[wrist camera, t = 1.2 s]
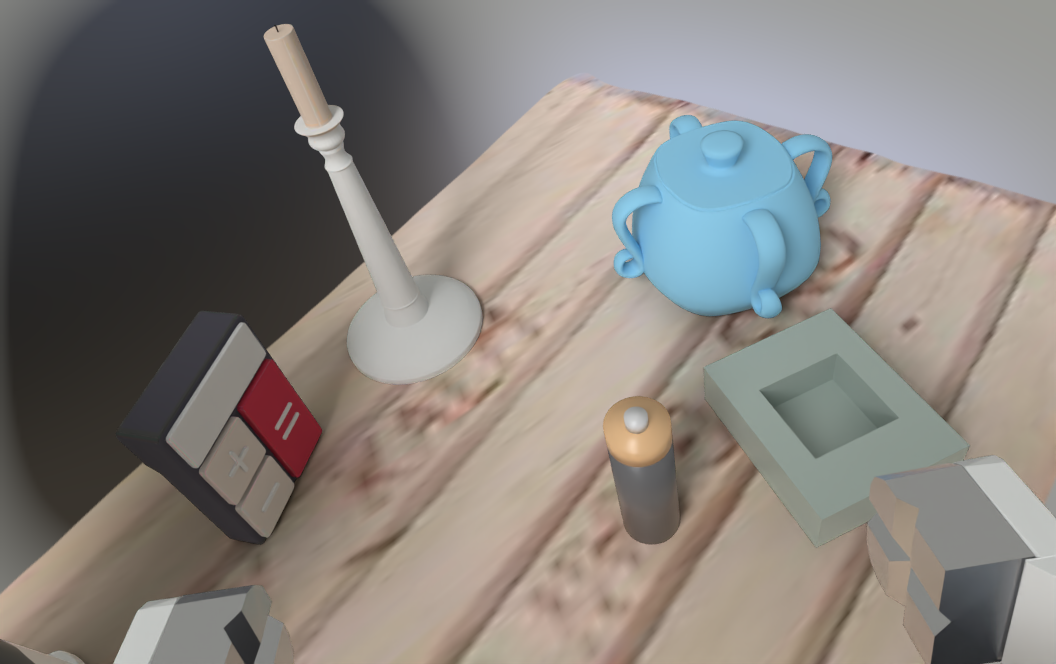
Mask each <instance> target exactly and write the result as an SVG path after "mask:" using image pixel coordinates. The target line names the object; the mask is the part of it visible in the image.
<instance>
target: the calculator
mask: <svg viewBox="0 0 1056 664" xmlns="http://www.w3.org/2000/svg"><path fill="white" fill-rule="evenodd" d="M321 433H322V429H321V427H320V426H319V424H318V422H317V421H316V420H315V418H314V417H313V415H312V414H311V413H310V411H309V410H308V408H307V407H306V405H305V404H304V403H303V401H302V400H301V398H300V397H299V395H298V394H297V393H296V391H295V390H294V388H293V387H292V386H291V384H290V383H289V381H288V380H287V378H286V377H285V376H284V374H283V373H282V371H281V370H280V368H279V367H278V366H277V364H276V363H275V361H274V360H273V359H272V357H271V356H270V354H269V353H268V351H267V350H266V349H265V347H264V346H263V344H262V343H261V342H260V340H259V339H258V337H257V336H256V335H255V333H254V332H253V330H252V329H251V327H250V326H249V324H248V323H247V322H246V320H245V319H244V317H243V316H242V315H240V314H232V313H220V312H208V311H200V312H199V313H198V314H197V315H196V316H195V318H194V319H193V321H192V322H191V324H190V325H189V327H188V328H187V330H186V331H185V333H184V334H183V335H182V337H181V338H180V340H179V341H178V343H177V344H176V345H175V347H174V348H173V350H172V351H171V353H170V354H169V356H168V357H167V359H166V360H165V361H164V363H163V364H162V366H161V367H160V369H159V370H158V371H157V373H156V375H155V376H154V377H153V379H152V380H151V382H150V383H149V384H148V386H147V388H146V389H145V390H144V392H143V393H142V395H141V396H140V398H139V399H138V400H137V402H136V403H135V405H134V406H133V408H132V409H131V411H130V412H129V414H128V415H127V416H126V418H125V419H124V421H123V422H122V424H121V425H120V427H119V428H118V430H117V432H116V437H117V438H118V440H119V441H121V443H123V444H124V445H125V446H126V447H127V448H128V449H129V450H130V451H131V452H132V453H134V455H136V456H137V457H138V458H139V459H140V460H141V461H142V462H143V463H144V464H145V465H147V466H148V467H150V468H152V469H154V470H155V471H157V472H159V473H160V474H162V475H163V476H164V477H165V478H166V479H167V480H168V481H169V482H170V483H171V484H172V485H173V486H175V487H176V488H177V489H178V490H179V491H180V492H181V493H182V494H183V495H184V496H185V497H186V498H187V499H188V500H189V501H191V502H192V503H193V504H194V505H195V506H196V507H197V508H198V509H199V510H200V511H201V512H202V513H203V514H204V515H206V516H207V517H208V518H209V519H210V520H211V521H212V522H213V523H214V524H215V525H216V526H217V527H218V528H219V529H220V530H222V531H223V532H224V533H225V534H226V535H227V536H228V537H229V538H231V539H235V540H240V541H245V542H250V543H255V544H262V543H264V541H265V539H266V538H267V537H270V535H271V533H272V531H273V529H274V527H275V525H276V523H277V521H278V519H279V517H280V515H281V513H282V511H283V509H284V507H285V505H286V503H287V501H288V499H289V497H290V495H291V493H292V491H293V489H294V482H295V480H296V478H298V477H300V475H301V473H302V471H303V469H304V467H305V465H306V463H307V461H308V459H309V457H310V455H311V453H312V451H313V449H314V447H315V445H316V443H317V441H318V439H319V437H320V435H321Z"/></svg>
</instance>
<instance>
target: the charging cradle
mask: <svg viewBox="0 0 1056 664" xmlns="http://www.w3.org/2000/svg"><path fill="white" fill-rule="evenodd" d="M704 392H705V400H706V401H707V402H708V404H709V405H710V406H711V408H712V409H713V410H714V412H715V413H716V414H717V416H718V417H719V418H720V420H721V421H722V422H723V424H724V425H725V426H726V428H727V429H728V430H729V432H730V433H731V434H732V436H733V437H734V438H735V440H736V441H737V442H738V444H739V445H740V446H741V448H742V449H743V450H744V452H745V453H746V454H747V456H748V457H749V459H750V460H751V461H752V463H753V464H754V465H755V467H756V468H757V469H758V471H759V472H760V473H761V475H762V476H763V477H764V479H765V480H766V481H767V483H768V484H769V485H770V487H771V488H772V489H773V491H774V492H775V493H776V495H777V496H778V497H779V499H780V500H781V501H782V503H783V504H784V505H785V507H786V508H787V509H788V511H789V512H790V513H791V515H792V516H793V517H794V519H795V520H796V521H797V523H798V524H799V525H800V527H801V528H802V529H803V531H804V532H805V533H806V535H807V536H808V538H809V539H810V540H811V542H812V543H813V544H814V546H815V547H816V548H817V547H819V546H821V545H823V544H825V543H827V542H829V541H831V540H833V539H835V538H837V537H839V536H841V535H843V534H845V533H847V532H849V531H851V530H853V529H855V528H856V527H858V526H860V525H862V524H864V523H866V522H868V521H870V520H871V519H872V517H873V516H874V515H875V514H876V513H877V511H876V509H875V508H874V506H873V504H872V503H871V501H870V499H869V494H870V484H871V482H872V481H873V479H874V477H875V476H880V475H886V474H891V473H897V472H902V471H908V470H913V469H918V468H924V467H929V466H935V465H940V464H946V463H954V462H957V461H963V460H964V458H965V456H966V453H967V451H968V449H969V446H970V445H969V444H968V443H967V442H966V441H965V440H964V439H963V438H962V437H961V436H960V435H959V434H958V433H957V432H956V431H955V430H954V429H953V428H952V427H951V426H950V425H949V424H948V423H947V422H946V421H945V420H943V419H942V418H941V417H940V416H939V415H938V414H937V413H936V412H935V411H934V410H933V409H932V408H931V407H930V406H929V405H928V404H927V403H926V402H925V401H924V400H923V399H922V398H921V397H920V396H919V395H918V394H917V393H916V392H915V391H914V390H913V389H912V388H911V387H910V386H909V385H908V384H907V383H906V382H905V381H904V380H903V379H902V378H901V377H900V376H899V375H898V374H897V373H896V372H895V371H894V370H893V369H892V368H891V367H890V366H889V365H888V364H887V363H886V362H885V361H884V360H883V359H882V358H881V357H880V356H879V355H878V354H877V353H876V352H875V351H874V350H873V349H872V348H871V347H870V346H869V345H868V344H867V343H866V342H865V341H864V340H863V339H861V338H860V337H859V336H858V335H857V334H856V333H855V332H854V331H853V330H852V329H851V328H850V327H849V326H848V325H847V324H846V323H845V322H844V321H843V320H842V319H841V318H840V317H839V316H838V315H837V314H836V313H835V312H834V311H833V310H832V309H831V308H830V309H828V310H826V311H824V312H822V313H819V314H817V315H815V316H813V317H811V318H809V319H807V320H804V321H802V322H800V323H798V324H796V325H794V326H791V327H789V328H787V329H785V330H783V331H781V332H779V333H776V334H774V335H772V336H770V337H768V338H766V339H763V340H761V341H759V342H757V343H755V344H753V345H751V346H748V347H746V348H744V349H742V350H740V351H738V352H736V353H733V354H731V355H729V356H727V357H725V358H723V359H720V360H718V361H716V362H714V363H712V364H710V365H708V366H705V367H704Z"/></svg>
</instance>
